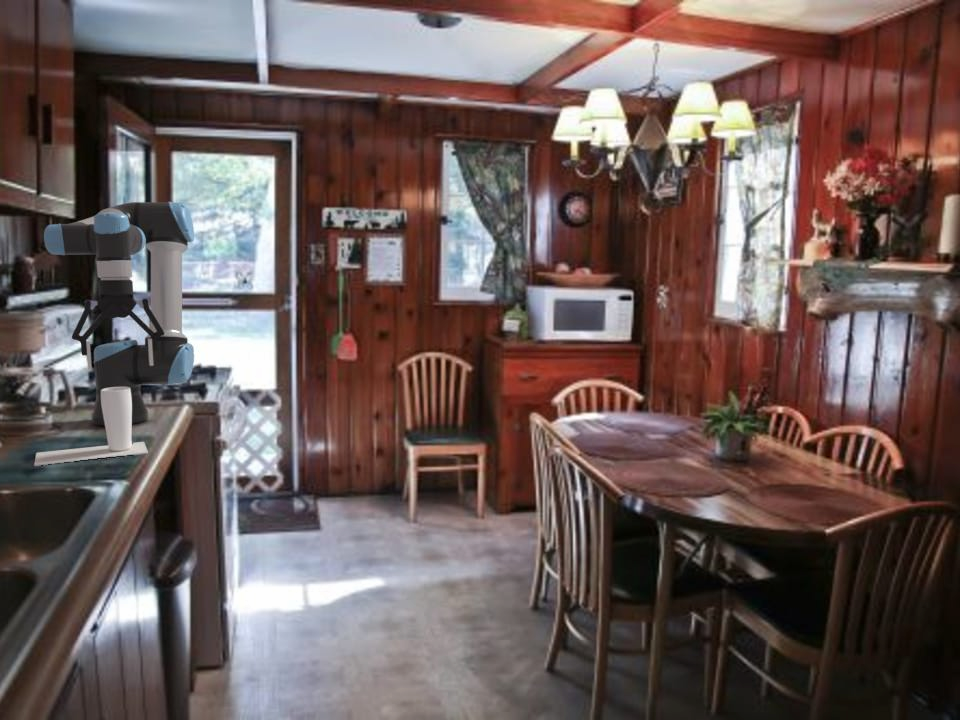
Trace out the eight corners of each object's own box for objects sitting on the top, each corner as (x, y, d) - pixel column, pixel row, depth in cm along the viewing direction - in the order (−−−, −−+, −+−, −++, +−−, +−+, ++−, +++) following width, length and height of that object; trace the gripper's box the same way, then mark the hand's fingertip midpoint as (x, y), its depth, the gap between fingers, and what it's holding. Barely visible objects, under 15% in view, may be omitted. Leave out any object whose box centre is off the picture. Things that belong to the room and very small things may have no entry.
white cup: (134, 451, 191) (129, 390, 189) (103, 453, 189) (98, 392, 186) (136, 444, 197) (131, 385, 195) (106, 447, 195) (101, 387, 193)
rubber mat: (144, 443, 201) (143, 441, 201) (148, 453, 190) (148, 452, 190) (36, 454, 190) (36, 452, 190) (34, 466, 179) (34, 464, 179)
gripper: (169, 277, 197) (174, 361, 200) (56, 279, 186) (63, 368, 189) (172, 278, 190) (177, 365, 193) (55, 280, 179) (62, 372, 182)
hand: (121, 367), depth 191 cm, fingers open, 13 cm apart
